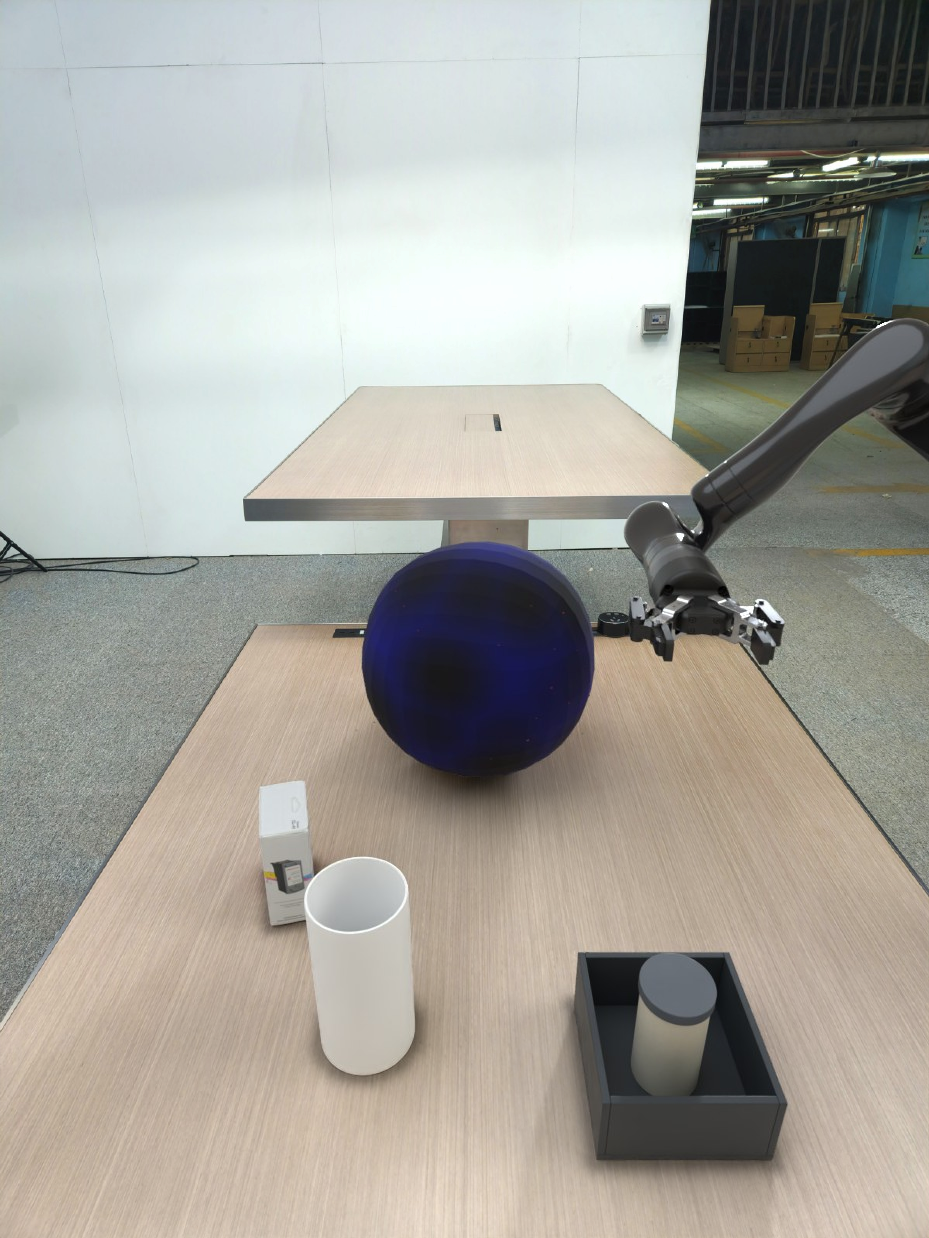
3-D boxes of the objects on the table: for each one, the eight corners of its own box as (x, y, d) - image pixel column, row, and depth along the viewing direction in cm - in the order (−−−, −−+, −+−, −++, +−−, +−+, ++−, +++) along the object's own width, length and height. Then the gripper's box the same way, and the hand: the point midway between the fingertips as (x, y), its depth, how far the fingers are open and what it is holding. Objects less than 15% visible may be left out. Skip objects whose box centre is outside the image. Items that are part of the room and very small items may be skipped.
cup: (403, 1082, 62) (394, 940, 55) (307, 1067, 63) (287, 926, 56) (423, 996, 69) (418, 861, 62) (337, 984, 70) (323, 851, 63)
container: (689, 1036, 65) (704, 952, 60) (709, 1103, 59) (727, 1017, 55) (622, 1036, 65) (632, 952, 60) (636, 1103, 59) (648, 1017, 55)
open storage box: (719, 1004, 68) (729, 951, 65) (772, 1159, 56) (788, 1103, 53) (573, 1004, 68) (577, 951, 65) (596, 1159, 56) (602, 1103, 53)
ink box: (268, 869, 84) (255, 783, 79) (314, 861, 85) (304, 776, 80) (269, 929, 76) (255, 838, 71) (320, 920, 77) (309, 829, 72)
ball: (302, 800, 95) (275, 580, 82) (383, 681, 123) (372, 503, 110) (576, 842, 87) (592, 607, 75) (596, 706, 115) (611, 518, 103)
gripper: (622, 553, 81) (641, 614, 67) (757, 556, 80) (807, 618, 65) (617, 616, 84) (634, 687, 70) (747, 620, 83) (792, 693, 68)
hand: (717, 654), depth 68 cm, fingers open, 8 cm apart
